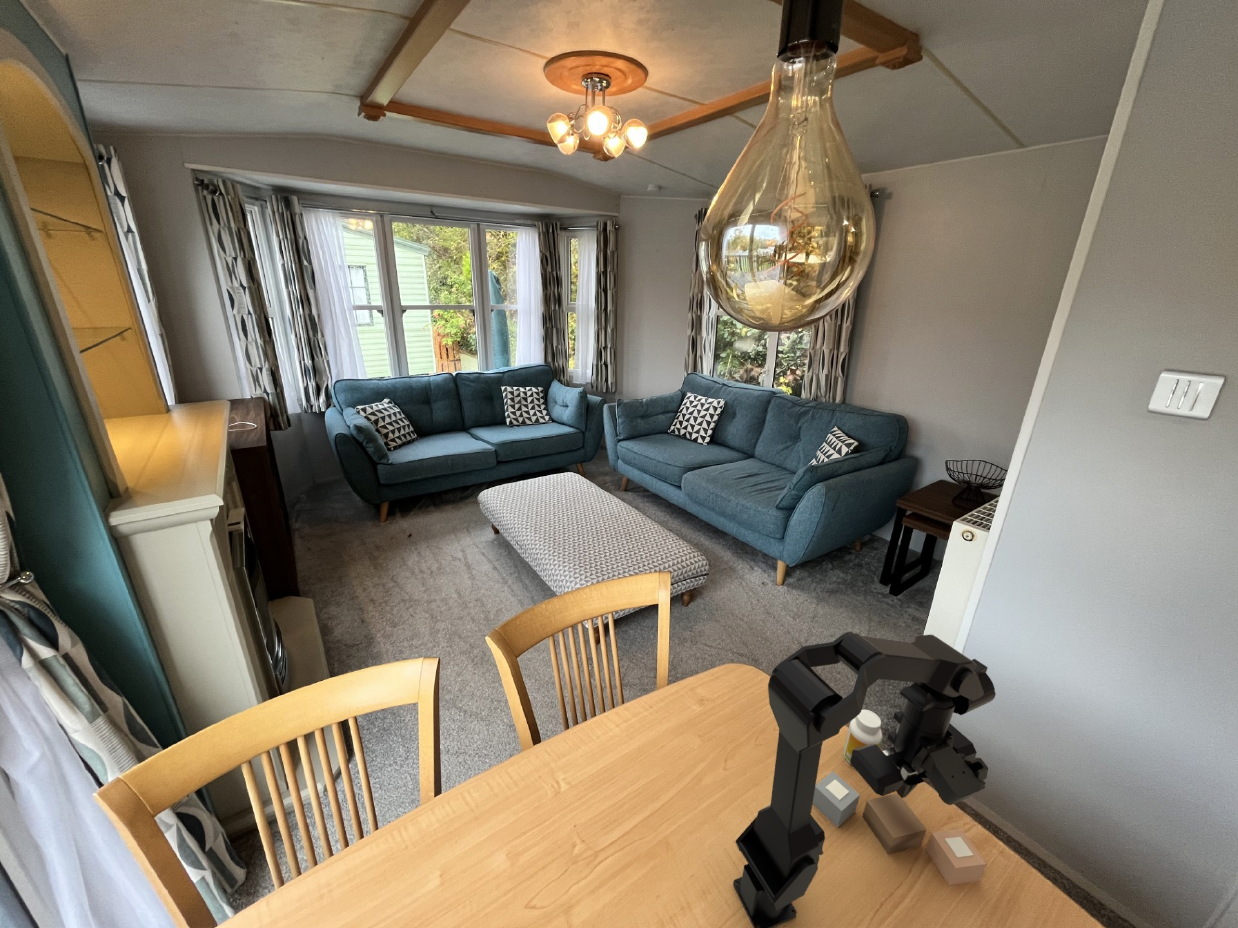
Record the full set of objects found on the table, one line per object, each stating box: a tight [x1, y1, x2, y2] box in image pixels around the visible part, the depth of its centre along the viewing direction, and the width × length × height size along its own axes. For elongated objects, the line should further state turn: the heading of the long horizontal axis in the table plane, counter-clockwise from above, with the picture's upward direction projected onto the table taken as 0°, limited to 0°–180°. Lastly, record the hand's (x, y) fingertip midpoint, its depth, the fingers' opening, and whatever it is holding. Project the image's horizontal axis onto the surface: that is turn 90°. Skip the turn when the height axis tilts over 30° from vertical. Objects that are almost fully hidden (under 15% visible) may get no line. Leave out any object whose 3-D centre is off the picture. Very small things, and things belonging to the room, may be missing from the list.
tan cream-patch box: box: [925, 828, 988, 886], centre depth 76 cm, size 5×5×4 cm
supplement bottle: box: [843, 709, 883, 764], centre depth 92 cm, size 5×5×10 cm
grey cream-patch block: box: [812, 771, 861, 828], centre depth 84 cm, size 5×5×4 cm
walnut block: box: [861, 792, 928, 855], centre depth 81 cm, size 6×6×4 cm
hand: (901, 794), depth 79 cm, fingers closed
